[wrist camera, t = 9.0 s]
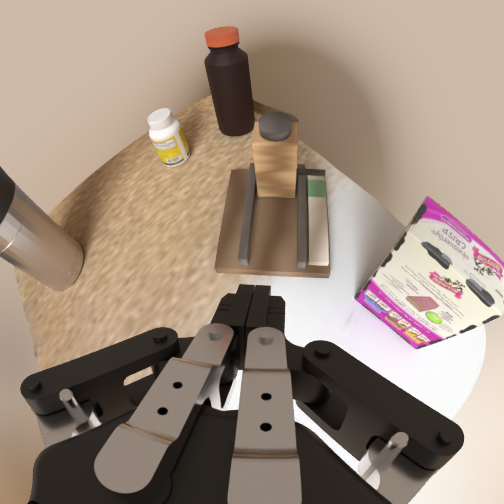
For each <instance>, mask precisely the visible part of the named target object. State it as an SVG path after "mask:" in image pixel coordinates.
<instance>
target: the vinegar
mask: <svg viewBox="0 0 504 504" xmlns="http://www.w3.org/2000/svg"><path fill="white" fill-rule="evenodd" d="M205 38H206V43H207V46H208V48H209V49H210V53H209V55H208V56H207V57H206V59H205V67H206V72H207V77H208V81H209V85H210V89H211V94H212V99H213V103H214V108H215V112H216V116H217V121H218V125H219V129H220V131H221V132H222V133H223V134H225V135H228V136H241V135H244V134H247V133H248V132H250V131H251V130H252V129H253V128H254V124H255V118H254V108H253V99H252V91H251V82H250V73H249V64H248V56H247V54H246V53H245V52H244V51H243V50H241V49H240V48H238V44H239V34H238V29H237V28H236V27H219V28H215V29H212V30H209V31H207V32H206V33H205Z"/></svg>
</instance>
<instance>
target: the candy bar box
mask: <svg viewBox="0 0 504 504" xmlns="http://www.w3.org/2000/svg"><path fill="white" fill-rule="evenodd" d="M355 300H357V301H358V302H359V303H360V304H362V305H363V306H364V307H365V308H367V309H368V310H369V311H370V312H372V313H373V314H374V315H375V316H377V317H378V318H379V319H380V320H382V321H383V322H384V323H385V324H386V325H388V326H389V327H390V328H391V329H392V330H394V331H395V332H396V333H397V334H398V335H400V336H401V337H402V338H403V339H404V340H406V341H407V342H408V343H409V344H410V345H412V346H413V347H414V348H415V349H419V348H422V347H425V346H429V345H431V344H434V343H437V342H440V341H442V340H446V339H448V338H451V337H453V336H456V335H459V334H461V333H464V332H466V331H469V330H471V329H474V328H476V327H478V326H480V325H483V324H485V323H487V322H489V321H492V320H494V319H496V318H498V317H500V316H502V315H503V312H504V262H503V261H502V260H501V259H500V258H499V257H498V256H497V255H496V254H495V253H494V252H493V251H492V250H491V249H490V248H489V247H488V246H487V245H485V244H484V243H483V242H482V241H481V240H480V239H479V238H478V237H477V236H476V235H475V234H473V233H472V232H471V231H470V230H469V229H468V228H467V227H466V226H465V225H463V224H462V223H461V222H460V221H458V220H457V219H456V218H455V217H454V216H453V215H451V214H450V213H449V212H448V211H446V210H445V209H444V208H443V207H441V206H440V205H439V204H438V203H436V202H435V201H434V200H433V199H431V198H430V197H428V196H427V197H426V198H425V200H424V201H423V203H422V204H421V206H420V207H419V209H418V210H417V212H416V214H415V215H414V216H413V218H412V220H411V221H410V223H409V224H408V226H407V227H406V229H405V230H404V231H403V233H402V234H401V236H400V237H399V238H398V240H397V241H396V243H395V244H394V245H393V247H392V248H391V250H390V251H389V252H388V254H387V255H386V256H385V258H384V259H383V260H382V262H381V263H380V264H379V266H378V267H377V268H376V270H375V271H374V272H373V274H372V275H371V276H370V277H369V279H368V280H367V281H366V283H365V284H364V285H363V287H362V288H361V289H360V291H359V292H358V294H357V295H356V296H355Z"/></svg>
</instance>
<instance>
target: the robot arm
mask: <svg viewBox="0 0 504 504" xmlns="http://www.w3.org/2000/svg"><path fill="white" fill-rule="evenodd" d="M0 257H2V258H3V259H5V260H6V261H8V262H9V263H11V264H12V265H14V266H15V267H17V268H18V269H20V270H21V271H23V272H25V273H26V274H28V275H30V276H31V277H33V278H34V279H36V280H38V281H39V282H41V283H43V284H45V285H46V286H48V287H50V288H52V289H53V290H56V291H62V290H65V289H67V288H68V287H70V286H71V285H72V284H73V283H74V281H75V280H76V279H77V277H78V275H79V273H80V271H81V268H82V265H83V258H84V255H83V249H82V247H81V245H80V244H79V243H78V242H77V241H76V240H74V239H73V238H72V237H71V236H70V235H69V234H68V233H66V231H64V230H63V229H62V228H61V227H60V226H59V225H58V224H57V223H55V222H54V221H53V220H52V219H51V218H50V217H49V216H48V215H47V214H46V213H45V212H44V211H43V210H42V209H41V208H40V207H38V206H37V205H36V204H35V203H34V202H33V201H32V200H31V199H30V198H29V197H28V196H27V195H26V194H25V193H24V192H23V191H22V190H21V189H20V188H19V187H18V186H17V185H16V184H15V183H14V182H13V180H12V179H11V178H10V177H9V176H8V175H7V174H6V173H5V171H3V169H2V168H1V167H0ZM284 327H285V301H284V300H283V298H282V297H281V296H271V286H265V285H256V286H255V285H245V284H240V285H239V287H238V290H237V293H236V294H231V293H228V294H227V295H225V296H224V297H223V298H222V299H221V301H220V303H219V305H218V307H217V310H216V312H215V314H214V316H213V319H212V321H211V323H210V324H208V325H205V326H203V327H202V328H201V329H200V330H199V331H198V333H197V334H196V336H195V337H188V338H178V335H177V333H176V331H174V330H173V329H170V328H166V327H160V328H155V329H152V330H149V331H147V332H145V333H142V334H140V335H137V336H134V337H132V338H129V339H127V340H124V341H122V342H119V343H117V344H114V345H111V346H109V347H106V348H104V349H101V350H98V351H96V352H93V353H90V354H88V355H85V356H82V357H80V358H77V359H74V360H71V361H69V362H66V363H63V364H60V365H58V366H55V367H52V368H49V369H46V370H43V371H41V372H38V373H35V374H32V375H30V376H28V377H27V378H26V379H25V380H24V381H23V382H22V384H21V388H20V390H21V394H22V395H23V397H24V398H25V400H26V401H27V403H28V404H29V406H30V407H31V409H32V411H33V413H34V414H35V415H36V417H37V420H38V424H39V428H40V431H41V435H42V438H43V442H44V444H45V448H46V449H44V450H43V451H42V452H41V453H40V454H39V455H38V457H37V459H36V461H35V463H34V467H33V483H32V491H31V495H30V500H29V502H28V504H408V503H409V502H410V501H411V499H412V498H413V497H414V496H415V495H416V494H417V493H418V492H419V491H420V489H421V488H422V487H423V486H424V485H425V483H426V482H427V481H428V480H429V478H431V477H432V476H433V475H434V474H435V473H436V472H437V471H439V470H440V469H441V468H442V467H443V466H444V465H445V464H446V463H447V462H448V461H449V460H450V459H451V458H452V457H453V456H454V455H455V454H456V453H457V452H458V451H459V450H460V449H461V447H462V446H463V443H464V434H463V431H462V429H461V428H460V426H458V425H457V424H456V423H455V422H453V421H451V420H450V419H448V418H447V417H445V416H443V415H442V414H440V413H439V412H437V411H435V410H434V409H432V408H431V407H429V406H427V405H426V404H424V403H423V402H421V401H420V400H418V399H416V398H415V397H413V396H412V395H410V394H409V393H407V392H406V391H404V390H402V389H401V388H399V387H398V386H396V385H395V384H393V383H392V382H390V381H389V380H387V379H386V378H384V377H383V376H381V375H380V374H378V373H377V372H375V371H374V370H372V369H371V368H369V367H368V366H366V365H365V364H363V363H362V362H360V361H359V360H357V359H356V358H354V357H353V356H351V355H350V354H349V353H347V352H346V351H344V350H343V349H341V348H340V347H338V346H337V345H335V344H334V343H331V342H328V341H323V340H318V341H313V342H310V343H308V344H307V345H306V346H305V347H300V346H296V345H294V344H292V343H290V342H289V341H288V340H287V339H286V337H285V335H284ZM150 366H151V368H152V372H153V374H151V375H149V376H146V377H144V378H142V379H140V380H138V381H135V382H133V383H131V384H128V385H126V386H124V384H123V383H124V380H125V379H126V377H128V376H129V375H132V374H134V373H136V372H139V371H141V370H143V369H145V368H148V367H150ZM238 370H243V373H242V382H241V392H240V401H239V410H228V411H226V409H227V406H228V404H229V401H230V398H231V395H232V392H233V390H234V387H235V384H236V376H237V372H238ZM293 399H295V400H296V404H297V406H298V407H299V408H300V409H301V410H302V411H303V412H304V413H305V414H306V415H307V416H308V417H310V418H311V419H312V420H313V421H314V422H315V423H316V424H317V425H318V426H319V427H320V428H321V429H323V430H324V431H325V432H326V433H327V434H328V435H329V436H330V437H331V438H333V439H334V440H335V441H336V442H337V443H338V444H339V445H341V446H342V447H343V448H344V449H345V450H346V451H348V452H349V453H350V454H351V455H352V456H353V457H355V458H356V459H357V460H358V461H360V462H359V465H358V472H359V475H358V474H357V473H356V472H355V471H354V470H353V469H352V468H351V467H350V466H349V465H347V464H346V463H345V462H344V461H343V460H342V459H341V458H340V457H339V456H338V455H337V454H336V453H335V452H334V451H333V450H332V449H331V448H330V447H329V446H328V445H327V444H326V443H325V442H324V441H322V440H321V439H320V438H319V437H318V436H317V435H316V434H315V433H314V432H313V431H311V430H310V429H309V428H307V427H305V426H304V425H302V424H300V423H298V422H295V421H294V409H293Z"/></svg>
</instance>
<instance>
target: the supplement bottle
mask: <svg viewBox="0 0 504 504" xmlns="http://www.w3.org/2000/svg"><path fill="white" fill-rule="evenodd" d="M147 121H148V124H149V126H150V130H149V136H150V139H151V141H152V143H153V145H154V147H155V149H156V151H157V153H158V155H159V157H160V159H161V161H162V163H163V164H164V165H165V166H168V167H176V166H179V165H181V164H183V163H184V162H185V161H186V160H187V159H188V158H189V156H190V149H189V146H188V143H187V141H186V138H185V135H184V132H183V130H182V127H181V124H180V122H179V120H177V119H176V118H173V115H172V112H171V110H170V109H168V108H162V109H159V110H156V111H154V112H153V113H151V114H150V115H149V117H148V118H147Z"/></svg>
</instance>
